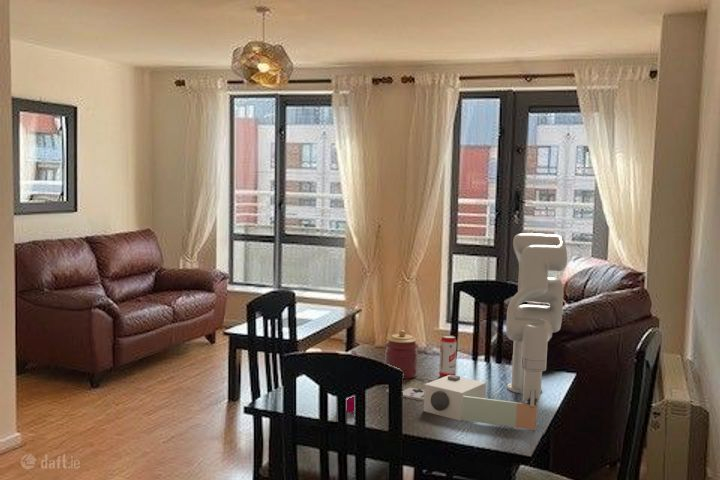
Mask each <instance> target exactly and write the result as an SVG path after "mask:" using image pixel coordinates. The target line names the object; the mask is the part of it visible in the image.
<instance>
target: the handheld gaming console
mask: <svg viewBox="0 0 720 480" xmlns="http://www.w3.org/2000/svg"><path fill="white" fill-rule="evenodd" d="M402 392H403V397H402V398H405V397H406V399H411V400H415V399H416V401H421V402H424V389H422V388H415V387H408V388H406V389H405V390H402Z"/></svg>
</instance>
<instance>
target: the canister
mask: <svg viewBox="0 0 720 480" xmlns="http://www.w3.org/2000/svg"><path fill="white" fill-rule="evenodd" d="M384 345H385V347H386V350H385V352H384V355H385V356H384V364H385V363H387V364H390V365H392V366H395V367H397V368H400V369H401V370H402V371H403V373H404V380H405V379H406V380H407V379H412V378H416V377H417V375H418V361H419V360H418V359H419V358H418V357H419V353H418V348H419V344H417V338H416V337H414V336H413V335H410V334H408V333H407V332H406V331H405V330H403V329H401V330H399V333H394V334H391V335H390V336H388V337H387V342H385V344H384Z"/></svg>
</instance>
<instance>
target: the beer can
mask: <svg viewBox="0 0 720 480" xmlns="http://www.w3.org/2000/svg"><path fill="white" fill-rule="evenodd" d="M456 339H457V338H456V336H455V335H451V334H450V335H448V334H444V335H442V336H441V339H440V342H439V343H440V344H439V345H440V346H439V347H440V348H439V350H440V351H439V367H438V368H439V371H438V375H439V376H440V378H443V377H445V376H448V375H456V368H457V367H456V366H457V365H456V364H457V340H456Z"/></svg>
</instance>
